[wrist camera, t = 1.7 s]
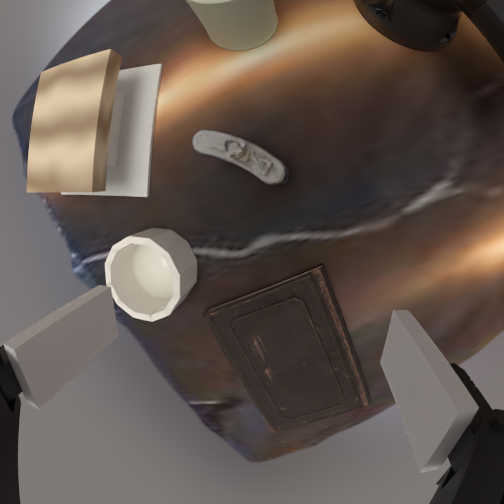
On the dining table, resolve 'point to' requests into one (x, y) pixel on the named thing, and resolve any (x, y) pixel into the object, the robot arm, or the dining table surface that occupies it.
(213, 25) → the can
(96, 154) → the wavy beige panel
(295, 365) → the hardcover book
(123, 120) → the stand
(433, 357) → the robot arm
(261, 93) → the dining table surface
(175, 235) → the bowl
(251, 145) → the flask
